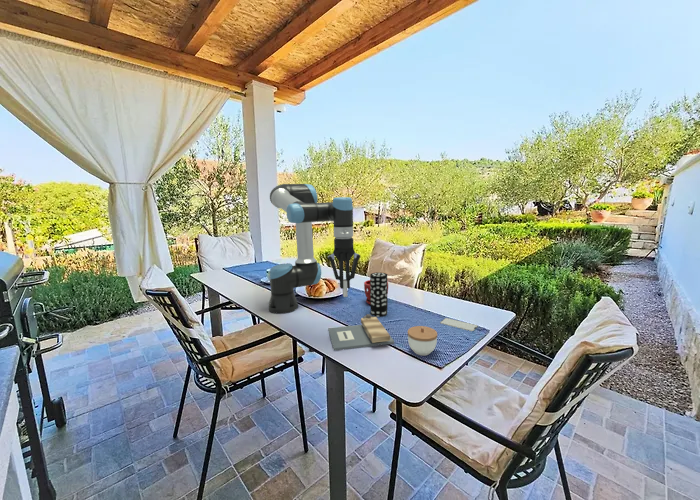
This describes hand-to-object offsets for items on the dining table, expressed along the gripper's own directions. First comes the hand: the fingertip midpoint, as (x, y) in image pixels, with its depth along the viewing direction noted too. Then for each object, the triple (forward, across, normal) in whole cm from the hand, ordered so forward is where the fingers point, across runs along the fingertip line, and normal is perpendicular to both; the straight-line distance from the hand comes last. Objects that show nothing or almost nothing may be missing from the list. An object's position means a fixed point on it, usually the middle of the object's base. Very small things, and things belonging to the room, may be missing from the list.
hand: (345, 295), depth 118 cm
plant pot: (+19, +24, +37) cm, 48 cm away
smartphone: (+19, +52, +2) cm, 55 cm away
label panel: (+18, +6, 0) cm, 19 cm away
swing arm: (+16, +12, 0) cm, 20 cm away
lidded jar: (+19, +26, -17) cm, 36 cm away
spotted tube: (+19, +21, +22) cm, 36 cm away
